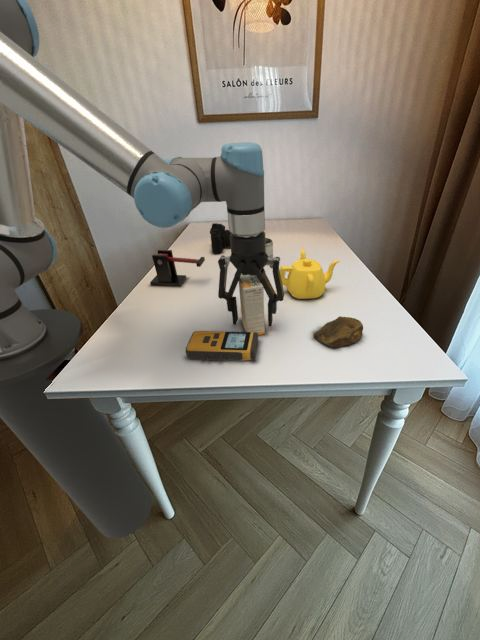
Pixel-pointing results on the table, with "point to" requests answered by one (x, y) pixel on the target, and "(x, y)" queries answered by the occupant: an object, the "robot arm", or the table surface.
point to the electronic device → (222, 345)
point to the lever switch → (185, 260)
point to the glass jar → (269, 247)
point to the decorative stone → (340, 332)
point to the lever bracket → (166, 271)
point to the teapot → (306, 277)
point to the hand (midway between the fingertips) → (252, 322)
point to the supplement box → (252, 303)
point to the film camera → (219, 238)
